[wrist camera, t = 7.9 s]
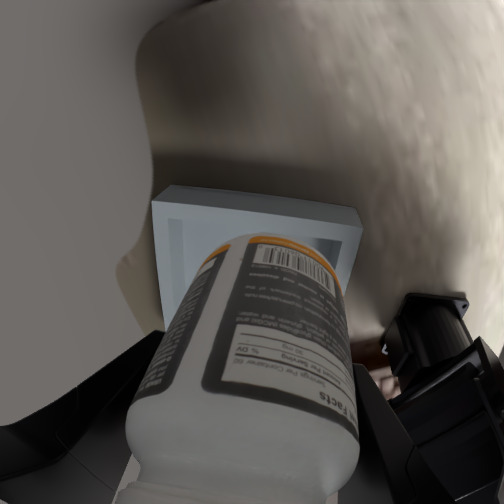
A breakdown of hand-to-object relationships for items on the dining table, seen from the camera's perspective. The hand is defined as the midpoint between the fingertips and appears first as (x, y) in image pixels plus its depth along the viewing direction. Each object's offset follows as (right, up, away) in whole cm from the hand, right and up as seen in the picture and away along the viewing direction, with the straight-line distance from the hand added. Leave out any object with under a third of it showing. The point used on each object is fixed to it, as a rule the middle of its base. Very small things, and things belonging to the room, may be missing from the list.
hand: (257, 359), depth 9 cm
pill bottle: (+1, +2, +3) cm, 4 cm away
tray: (0, +1, +13) cm, 13 cm away
